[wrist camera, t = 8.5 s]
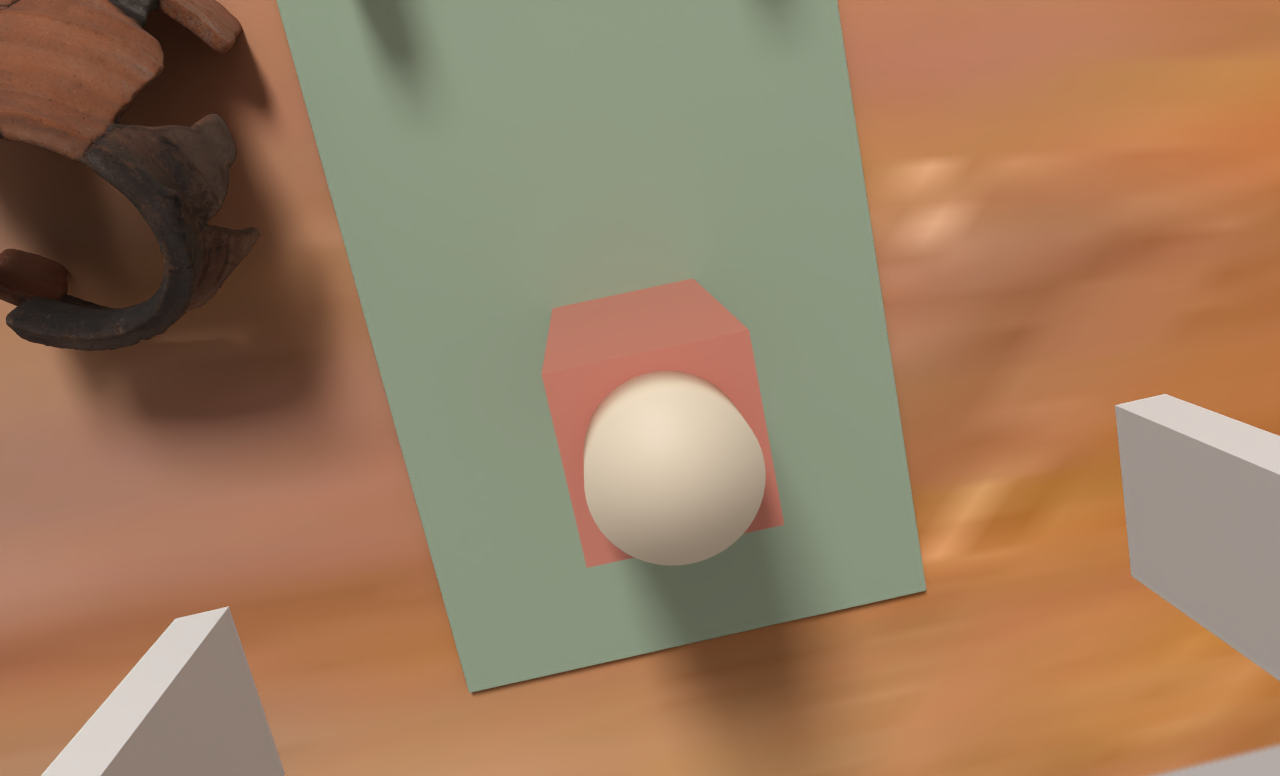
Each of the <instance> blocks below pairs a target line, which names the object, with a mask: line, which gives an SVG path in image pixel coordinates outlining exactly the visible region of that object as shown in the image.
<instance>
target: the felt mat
mask: <svg viewBox="0 0 1280 776" xmlns="http://www.w3.org/2000/svg"><path fill="white" fill-rule="evenodd" d="M277 4H278V7H279V11H280V14H281V18H282V21H283V25H284V29H285V32H286V36H287V39H288V43H289V47H290V50H291V54H292V57H293V61H294V65H295V68H296V72H297V75H298V79H299V83H300V86H301V90H302V93H303V97H304V101H305V104H306V108H307V111H308V115H309V119H310V122H311V126H312V129H313V133H314V137H315V140H316V144H317V147H318V151H319V155H320V158H321V162H322V165H323V169H324V172H325V176H326V180H327V183H328V187H329V190H330V194H331V198H332V201H333V205H334V208H335V212H336V216H337V219H338V223H339V226H340V230H341V234H342V237H343V241H344V244H345V248H346V252H347V255H348V259H349V262H350V266H351V270H352V273H353V277H354V280H355V284H356V288H357V291H358V295H359V298H360V302H361V305H362V309H363V313H364V316H365V320H366V323H367V327H368V331H369V334H370V338H371V341H372V345H373V349H374V352H375V356H376V359H377V363H378V367H379V370H380V374H381V377H382V381H383V385H384V388H385V392H386V395H387V399H388V403H389V406H390V410H391V413H392V417H393V421H394V424H395V428H396V431H397V435H398V439H399V442H400V446H401V449H402V453H403V456H404V460H405V464H406V467H407V471H408V474H409V478H410V482H411V485H412V489H413V492H414V496H415V500H416V503H417V507H418V510H419V514H420V518H421V521H422V525H423V528H424V532H425V536H426V539H427V543H428V546H429V550H430V554H431V557H432V561H433V564H434V568H435V572H436V575H437V579H438V582H439V586H440V589H441V593H442V597H443V600H444V604H445V607H446V611H447V615H448V618H449V622H450V625H451V629H452V633H453V636H454V640H455V643H456V647H457V651H458V654H459V658H460V661H461V665H462V669H463V672H464V676H465V679H466V683H467V687H468V690H469V693H471V692H475V691H480V690H484V689H489V688H493V687H498V686H502V685H507V684H511V683H515V682H520V681H524V680H529V679H533V678H538V677H542V676H547V675H551V674H556V673H560V672H565V671H569V670H573V669H578V668H582V667H587V666H591V665H596V664H600V663H605V662H609V661H614V660H618V659H623V658H627V657H632V656H636V655H640V654H645V653H649V652H654V651H658V650H663V649H667V648H672V647H676V646H681V645H685V644H690V643H694V642H699V641H703V640H707V639H712V638H716V637H721V636H725V635H730V634H734V633H739V632H743V631H748V630H752V629H757V628H761V627H766V626H770V625H774V624H779V623H783V622H788V621H792V620H797V619H801V618H806V617H810V616H815V615H819V614H824V613H828V612H832V611H837V610H841V609H846V608H850V607H855V606H859V605H864V604H868V603H873V602H877V601H882V600H886V599H891V598H895V597H899V596H904V595H908V594H913V593H917V592H922V591H926V585H925V578H924V572H923V565H922V558H921V552H920V545H919V538H918V532H917V525H916V519H915V512H914V505H913V499H912V492H911V486H910V479H909V472H908V466H907V459H906V453H905V446H904V439H903V433H902V426H901V419H900V413H899V406H898V400H897V393H896V386H895V380H894V373H893V367H892V360H891V353H890V347H889V340H888V334H887V327H886V320H885V314H884V307H883V300H882V294H881V287H880V281H879V274H878V267H877V261H876V254H875V248H874V241H873V234H872V228H871V221H870V215H869V208H868V201H867V195H866V188H865V181H864V175H863V168H862V162H861V155H860V148H859V142H858V135H857V129H856V122H855V115H854V109H853V102H852V96H851V89H850V82H849V76H848V69H847V62H846V56H845V49H844V43H843V36H842V29H841V23H840V16H839V10H838V3H837V0H277ZM692 278H693V279H694V280H695V281H696V282H698V283H699V284H700V285H701V286H702V287H703V288H704V289H705V290H706V291H707V292H708V293H709V294H711V295H712V296H713V297H714V298H715V299H716V300H717V301H718V302H719V303H720V304H721V305H723V306H724V307H725V308H726V309H727V310H728V311H729V312H730V313H731V314H732V315H733V316H735V317H736V318H737V319H738V320H739V321H740V322H741V323H742V324H743V325H744V326H745V327H746V328H748V329H749V333H750V338H751V344H752V349H753V355H754V360H755V366H756V371H757V377H758V382H759V388H760V393H761V399H762V405H763V410H764V416H765V421H766V427H767V432H768V438H769V443H770V449H771V454H772V460H773V465H774V471H775V476H776V482H777V487H778V493H779V498H780V504H781V509H782V515H783V520H784V525H781V526H776V527H772V528H767V529H763V530H758V531H754V532H749V533H744V534H743V535H742V536H741V537H740V538H739V539H738V540H737V541H736V542H735V543H733V544H732V545H731V546H729V547H728V548H727V549H725V550H724V551H722V552H720V553H719V554H717V555H715V556H713V557H710V558H708V559H706V560H703V561H700V562H696V563H692V564H686V565H674V566H668V565H657V564H653V563H648V562H645V561H642V560H639V559H636V558H630V559H625V560H621V561H616V562H612V563H607V564H602V565H598V566H593V567H589V568H587V566H586V562H585V558H584V554H583V549H582V545H581V541H580V537H579V532H578V528H577V524H576V519H575V515H574V511H573V507H572V502H571V498H570V494H569V490H568V485H567V481H566V477H565V473H564V468H563V464H562V460H561V455H560V451H559V447H558V443H557V438H556V434H555V430H554V426H553V421H552V417H551V413H550V409H549V404H548V400H547V396H546V391H545V387H544V383H543V379H542V368H543V362H544V356H545V350H546V344H547V338H548V331H549V325H550V319H551V313H552V308H556V307H561V306H566V305H571V304H575V303H580V302H585V301H589V300H594V299H599V298H603V297H608V296H613V295H617V294H622V293H627V292H631V291H636V290H641V289H646V288H650V287H655V286H660V285H664V284H669V283H674V282H678V281H683V280H688V279H692Z"/></svg>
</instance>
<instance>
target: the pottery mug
mask: <svg viewBox="0 0 1280 776" xmlns="http://www.w3.org/2000/svg"><path fill="white" fill-rule="evenodd" d="M155 9H157V10H159V11H161V12H162V13H164V14H165V15H167V16H168V17H170V18H171V19H173V20H175V21H177V22H178V23H179V24H181V25H182V26H183V27H185V28H186V29H188V30H189V31H190V32H192V33H193V34H194V35H195V36H196V37H198V38H199V39H200V40H202V41H203V42H204V43H205V44H207V45H208V46H209V47H210V48H211V49H212V50H214V51H215V52H217V53H219V54H224V53H226V52H228V51H229V50H230V49H231V47H232V46H233V45H234V44H235V41H236V37H237V36H238V35H239V34H240V33H241V31H242V27H241V25H240V23H239V21H238V20H237V19H236V18H235V17H234V16H233V15H231V14H230V13H229V12H228V10H226V9H225V8H224V7H223V6H222V5H221V4H220V3H218V2H217V1H215V0H0V139H1V138H5V139H7V140H10V141H16V142H21V143H27V144H30V145H34V146H37V147H40V148H43V149H46V150H49V151H51V152H54V153H57V154H59V155H62V156H64V157H66V158H69V159H71V160H73V161H77V162H81V163H84V164H85V165H87V166H88V167H89V168H90V169H91V170H93V171H94V172H95V173H97V174H98V175H99V176H101V177H102V178H104V179H105V180H106V181H108V182H109V183H110V184H111V185H113V186H114V187H115V188H117V189H118V190H119V191H120V192H121V193H123V194H124V195H125V196H126V197H127V198H128V199H129V200H130V201H131V202H132V203H133V205H134V206H135V207H136V208H137V209H138V211H139V212H140V213H141V215H142V216H143V218H144V219H145V220H146V222H147V223H148V225H149V226H150V227H151V229H152V231H153V232H154V234H155V236H156V239H157V241H158V243H159V245H160V248H161V252H162V254H163V257H164V259H165V265H164V266H165V268H164V278H163V281H162V284H161V287H160V289H159V290H158V291H157V292H156V293H155V294H154V295H153V297H151V298H150V299H149V300H147V301H145V302H143V303H141V304H138V305H135V306H131V307H127V308H122V309H113V308H108V307H104V306H100V305H97V304H94V303H91V302H87V301H84V300H81V299H79V298H77V297H73V296H70V295H68V294H67V292H68V283H67V278H66V270H65V268H64V267H63V266H62V265H60V264H59V263H57V262H55V261H53V260H50V259H47V258H44V257H42V256H39V255H36V254H32V253H27V252H24V251H20V250H16V249H6V250H4V251H3V252H2V253H0V299H1V300H4V301H6V302H8V303H11V304H13V305H16V306H18V307H16V308H15V309H14V310H12V311H11V312H10V313H9V314H8V315H7V317H6V323H7V325H8V326H9V327H10V328H11V329H13V330H14V331H15V332H16V334H17V335H19V336H20V337H21V338H23V339H25V340H28V341H30V342H34V343H39V344H44V345H46V346H52V347H58V348H70V349H77V350H88V351H91V350H113V349H117V348H122V347H126V346H130V345H134V344H136V343H138V342H139V341H140V340H147V339H150V338H152V337H154V336H156V335H159V334H161V333H164V332H165V331H166V330H167V329H168V328H169V327H170V326H171V325H173V324H174V323H175V322H176V321H177V320H178V319H179V318H181V316H182V315H183V314H185V313H186V311H188V310H191V309H193V308H197V307H199V306H202V305H204V304H205V303H206V302H207V301H208V300H209V299H211V298H212V297H213V296H214V295H215V294H216V292H217V291H218V289H219V288H220V287H221V286H222V284H223V282H224V281H225V280H226V278H227V277H228V276H229V275H230V274H231V272H232V271H233V270H234V269H235V268H236V266H237V265H238V264H239V262H240V261H241V260H242V259H243V258H244V257H245V256H246V255H247V254H248V253H249V251H250V250H251V248H252V247H253V245H254V244H255V242H256V240H257V239H258V237H259V235H260V232H259V230H258V229H256V228H252V227H251V228H246V229H243V230H231V229H228V228H222V227H217V226H210V225H207V224H206V223H207V222H208V220H209V219H210V218H211V217H212V216H213V215H215V213H216V212H218V211H219V210H220V208H221V207H222V203H223V201H224V199H225V197H226V195H227V191H228V184H229V169H230V167H231V165H232V163H233V162H234V160H235V157H236V153H237V150H236V145H235V142H234V141H233V138H232V136H231V134H230V132H229V129H228V127H227V125H226V123H225V122H224V121H223V119H222V118H221V117H220V116H219V115H217V114H209V115H207V116H205V117H203V118H202V119H200V120H199V121H197V122H196V123H194V124H193V125H192V126H191V127H186V126H181V125H168V126H158V127H149V126H140V125H124V124H120V123H119V119H120V117H121V115H122V114H123V113H124V111H125V110H126V109H127V108H128V107H129V105H130V104H131V103H132V101H133V100H134V99H135V97H136V96H137V95H138V94H139V93H140V92H141V91H142V90H143V89H144V88H145V87H146V86H147V85H148V84H149V83H150V82H152V81H154V80H155V79H157V78H158V77H159V76H160V74H161V73H162V71H163V69H164V65H163V61H164V53H163V51H162V47H161V45H160V43H159V42H158V40H156V39H155V38H154V37H153V36H151V35H150V34H149V33H148V32H146V31H145V30H143V29H142V28H141V27H142V26H143V25H144V24H145V23H146V21H147V16H148V12H149V11H151V10H155Z"/></svg>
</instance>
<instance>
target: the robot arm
mask: <svg viewBox="0 0 1280 776" xmlns="http://www.w3.org/2000/svg"><path fill="white" fill-rule="evenodd" d="M1115 410H1116V420H1117V430H1118V441H1119V451H1120V462H1121V472H1122V482H1123V493H1124V503H1125V514H1126V524H1127V535H1128V545H1129V555H1130V566H1131V576H1132V577H1134V578H1135V579H1137V580H1138V581H1139V582H1141V583H1142V584H1144V585H1145V586H1146V587H1148V588H1149V589H1151V590H1152V591H1154V592H1155V593H1156V594H1158V595H1159V596H1161V597H1162V598H1163V599H1165V600H1166V601H1168V602H1169V603H1170V604H1172V605H1173V606H1175V607H1176V608H1178V609H1179V610H1180V611H1182V612H1183V613H1185V614H1186V615H1187V616H1189V617H1190V618H1192V619H1193V620H1194V621H1196V622H1197V623H1199V624H1200V625H1202V626H1203V627H1204V628H1206V629H1207V630H1209V631H1210V632H1211V633H1213V634H1214V635H1216V636H1217V637H1218V638H1220V639H1221V640H1223V641H1224V642H1226V643H1227V644H1228V645H1230V646H1231V647H1233V648H1234V649H1235V650H1237V651H1238V652H1240V653H1241V654H1242V655H1244V656H1245V657H1247V658H1248V659H1250V660H1251V661H1252V662H1254V663H1255V664H1257V665H1258V666H1259V667H1261V668H1262V669H1264V670H1265V671H1266V672H1268V673H1269V674H1271V675H1272V676H1274V677H1275V678H1276V679H1278V680H1279V681H1280V436H1278V435H1275V434H1273V433H1270V432H1267V431H1264V430H1262V429H1259V428H1256V427H1254V426H1251V425H1248V424H1245V423H1243V422H1240V421H1237V420H1235V419H1232V418H1229V417H1226V416H1224V415H1221V414H1218V413H1216V412H1213V411H1210V410H1207V409H1205V408H1202V407H1199V406H1197V405H1194V404H1191V403H1188V402H1186V401H1183V400H1180V399H1178V398H1175V397H1172V396H1169V395H1167V394H1163V395H1158V396H1154V397H1149V398H1145V399H1141V400H1136V401H1132V402H1127V403H1123V404H1119V405H1115ZM284 774H285V772H284V769H283V766H282V763H281V760H280V757H279V754H278V751H277V748H276V745H275V742H274V740H273V737H272V734H271V731H270V728H269V725H268V722H267V719H266V716H265V713H264V710H263V707H262V704H261V701H260V698H259V695H258V692H257V689H256V686H255V683H254V680H253V677H252V674H251V671H250V668H249V665H248V662H247V659H246V656H245V653H244V650H243V647H242V644H241V641H240V638H239V635H238V632H237V629H236V627H235V624H234V621H233V618H232V615H231V612H230V609H229V607H225V608H221V609H216V610H212V611H207V612H203V613H198V614H194V615H190V616H185V617H181V618H176V619H175V620H174V621H173V622H172V623H171V624H170V626H169V627H168V628H167V629H166V630H165V631H164V633H163V634H162V635H161V636H160V637H159V638H158V640H157V641H156V642H155V643H154V644H153V645H152V647H151V648H150V649H149V650H148V651H147V652H146V654H145V655H144V656H143V657H142V658H141V659H140V661H139V662H138V663H137V664H136V665H135V666H134V668H133V669H132V670H131V671H130V672H129V673H128V675H127V676H126V677H125V678H124V679H123V680H122V682H121V683H120V684H119V685H118V686H117V687H116V689H115V690H114V691H113V692H112V693H111V694H110V696H109V697H108V698H107V699H106V700H105V701H104V703H103V704H102V705H101V706H100V707H99V708H98V710H97V711H96V712H95V713H94V714H93V715H92V717H91V718H90V719H89V720H88V721H87V722H86V724H85V725H84V726H83V727H82V728H81V729H80V731H79V732H78V733H77V734H76V735H75V736H74V738H73V739H72V740H71V741H70V742H69V743H68V745H67V746H66V747H65V748H64V749H63V750H62V752H61V753H60V754H59V755H58V756H57V757H56V759H55V760H54V761H53V762H52V763H51V764H50V766H49V767H48V768H47V769H46V770H45V771H44V773H43V774H42V775H41V776H284Z"/></svg>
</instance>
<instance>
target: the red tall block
mask: <svg viewBox="0 0 1280 776" xmlns="http://www.w3.org/2000/svg"><path fill="white" fill-rule="evenodd" d="M542 379H543V383H544V387H545V391H546V396H547V400H548V404H549V409H550V413H551V417H552V421H553V426H554V430H555V434H556V438H557V443H558V447H559V451H560V455H561V460H562V464H563V468H564V473H565V477H566V481H567V485H568V490H569V494H570V498H571V502H572V507H573V511H574V515H575V519H576V524H577V528H578V532H579V537H580V541H581V545H582V549H583V554H584V558H585V562H586V566H587V568H589V567H593V566H598V565H602V564H607V563H612V562H616V561H621V560H625V559H630V558H636V559H639V560H642V561H645V562H648V563H653V564H657V565H668V566H674V565H686V564H692V563H696V562H700V561H703V560H706V559H708V558H710V557H713V556H715V555H717V554H719V553H720V552H722V551H724V550H725V549H727V548H728V547H729V546H731V545H732V544H733V543H735V542H736V541H737V540H738V539H739V538H740V537H741V536H742V535H743V534H744V533H749V532H754V531H758V530H763V529H767V528H772V527H776V526H781V525H784V520H783V515H782V509H781V504H780V498H779V493H778V487H777V482H776V476H775V471H774V465H773V460H772V454H771V449H770V443H769V438H768V432H767V427H766V421H765V416H764V410H763V405H762V399H761V393H760V388H759V382H758V377H757V371H756V366H755V360H754V355H753V349H752V344H751V338H750V333H749V329H748V328H746V327H745V326H744V325H743V324H742V323H741V322H740V321H739V320H738V319H737V318H736V317H735V316H733V315H732V314H731V313H730V312H729V311H728V310H727V309H726V308H725V307H724V306H723V305H721V304H720V303H719V302H718V301H717V300H716V299H715V298H714V297H713V296H712V295H711V294H709V293H708V292H707V291H706V290H705V289H704V288H703V287H702V286H701V285H700V284H699V283H698V282H696V281H695V280H694V279H693V278H692V279H688V280H683V281H678V282H674V283H669V284H664V285H660V286H655V287H650V288H646V289H641V290H636V291H631V292H627V293H622V294H617V295H613V296H608V297H603V298H599V299H594V300H589V301H585V302H580V303H575V304H571V305H566V306H561V307H556V308H552V313H551V319H550V325H549V331H548V338H547V344H546V350H545V356H544V362H543V368H542Z"/></svg>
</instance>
